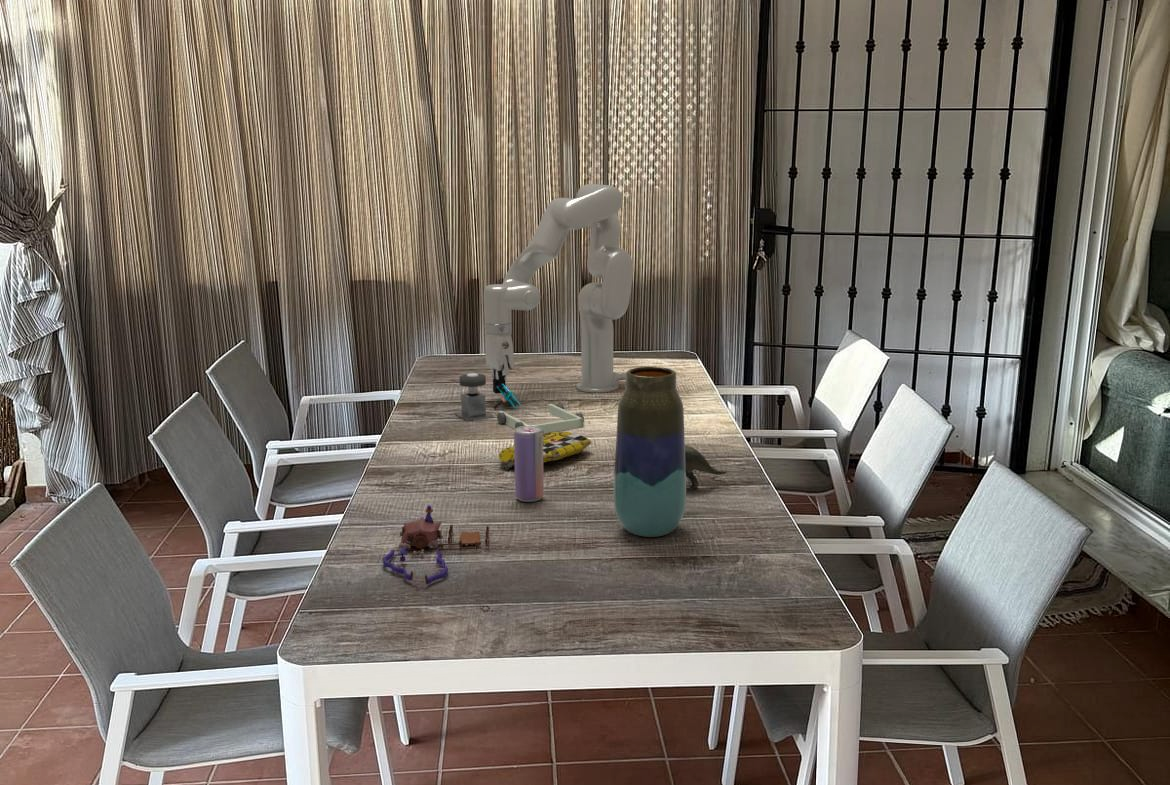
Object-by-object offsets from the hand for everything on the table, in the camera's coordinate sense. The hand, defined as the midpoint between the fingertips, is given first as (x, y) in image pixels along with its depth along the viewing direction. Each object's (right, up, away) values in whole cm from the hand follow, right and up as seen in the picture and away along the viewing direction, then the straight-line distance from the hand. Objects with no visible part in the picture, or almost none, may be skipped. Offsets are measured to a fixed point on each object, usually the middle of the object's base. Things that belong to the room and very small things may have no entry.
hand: (499, 392), depth 295 cm
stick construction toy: (+4, -5, -4) cm, 8 cm away
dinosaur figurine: (+43, -21, -71) cm, 86 cm away
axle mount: (-6, -6, -12) cm, 15 cm away
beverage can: (+13, -22, -76) cm, 81 cm away
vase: (+37, -27, -95) cm, 105 cm away
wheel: (-6, 0, -14) cm, 15 cm away
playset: (-3, -30, -106) cm, 110 cm away
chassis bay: (+12, -8, -20) cm, 25 cm away
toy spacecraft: (+14, -16, -50) cm, 54 cm away
